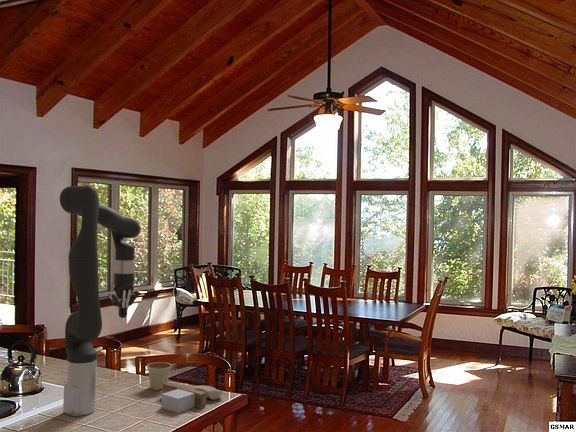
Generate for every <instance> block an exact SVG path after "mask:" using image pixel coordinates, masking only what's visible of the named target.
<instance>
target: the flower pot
mask: <svg viewBox="0 0 576 432" xmlns="http://www.w3.org/2000/svg"><path fill="white" fill-rule="evenodd" d="M172 366H173V365H172V364H171V363H169V362H165V361H164V362H162V361H161V362H159V361H158V362H151V363H147V365H146V368H147V371H148V377H149V386H150V387H149V388H150V389H151V390H154V391H159V390H161V391H162V386H163V383H166V382H169V376H170V371H171V367H172Z"/></svg>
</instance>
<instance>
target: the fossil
mask: <svg viewBox="0 0 576 432" xmlns="http://www.w3.org/2000/svg"><path fill="white" fill-rule="evenodd" d="M193 389H195V390H198V391H202V392H206V400H207V399H208V398H209V399H210V400H213V401H214V400H218V399H219V398H220V397H221V396H222V395H223V391H222V390H220V389H217V388H215V387H213V386H211V385H196V386H195V385H194V386H193Z"/></svg>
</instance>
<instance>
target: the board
mask: <svg viewBox="0 0 576 432" xmlns="http://www.w3.org/2000/svg"><path fill="white" fill-rule="evenodd" d="M176 389H181V390H185V391H189V392H192V393H195V407H194V408H197V409H204V408H205V407H206V404H207V403H206V402H207V401H206V400H207V398H206V392H202V391H198V390H195V389H194V388H190V387H187V386H183V385H179V384H176V383H171V382H169V381H168V382H166V383H163V386H162V390H161V391H162V392H161V393H162V394H163V393H167V392H170V391H173V390H176ZM162 394H161V395H162ZM203 407H204V408H203Z"/></svg>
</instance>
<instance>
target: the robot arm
mask: <svg viewBox="0 0 576 432" xmlns="http://www.w3.org/2000/svg"><path fill="white" fill-rule="evenodd" d="M59 203H60V206H61V209H63V211H64V212H66V213H68V214H72V215H76V216H79V217H81V225H80V230H79V233H78V235H77V237H76V239H75V240H74V242H73V244H72V246H71V247H70V250H69V252H68V272H69V273H68V275H69V279H70V281H71V285H72V287H73V289H74V291H75V295H76V297H77V304H78V305H77V306H78V310H76V311H73V312H72V313H71V314H70V315H69V316H68V318H67V320H66V323H65V328H64V330H65V331H64V337H65V338H64V340H65V341H64V345H65V353H66V356H67V367H66V369H67V370H66V371H67V372H66V383H64V384H63V403H62V405H63V407H62V413H63V414H66V415H69V416H72V417H80V416H88V415H91V414H94V412H95V410H96V393H97V392H96V391H97V390H96V389H97V363H98V361H97V359H98V357H97V356H98V353H97V350H96V349H95V347H94V345H93V344H92V342H93V341H95V340H97V339H98V338H99V336H100V335H101V332H102V330H103V319H102V317H103V316H102V312H101V304H100V293H99V292H100V286H99V253H98V225H100V226H102V227H104V228H105V229H107V230H108V231H110V232H111V236H112V240H113V244H114V249H115V250H114V251H115V252H114V265H113V285H114V288H113V289H112V290H113V291H112V292H111V293H108V295H107V296H108V298H109V300H110V301H111V303H112V304H113V306H114V307H115V308H116V307H117V308H118V316H119V318H121V319H125V318H127V316H128V308H129V306H132V305H133V303H134V302H135V300H136V299H137V297H138V295H139V292H138V291H136V290H135V289H134V284H135V269H136V267H135V246H134V245H133V244H130V243H127V242H126V240H125V239H135V238H136V237H138V235H140V233H141V226H140V223H139V222H138V220H136V219H135V218H133V217H129V216H126V215H123V214H121V213H119V212H118V211H117V210H115V209H113V208H111V207H109V206H106V205H102V204H100V196H99V193H98V191H97V188H96V187H94V186H93V185H92V186H91V185H71V186H70V185H69V186H66V187H65V188H63V190H62V191H61V192H60V195H59Z"/></svg>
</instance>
